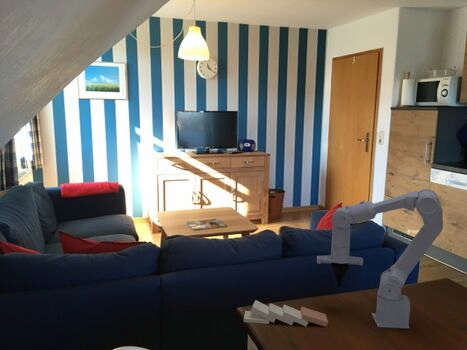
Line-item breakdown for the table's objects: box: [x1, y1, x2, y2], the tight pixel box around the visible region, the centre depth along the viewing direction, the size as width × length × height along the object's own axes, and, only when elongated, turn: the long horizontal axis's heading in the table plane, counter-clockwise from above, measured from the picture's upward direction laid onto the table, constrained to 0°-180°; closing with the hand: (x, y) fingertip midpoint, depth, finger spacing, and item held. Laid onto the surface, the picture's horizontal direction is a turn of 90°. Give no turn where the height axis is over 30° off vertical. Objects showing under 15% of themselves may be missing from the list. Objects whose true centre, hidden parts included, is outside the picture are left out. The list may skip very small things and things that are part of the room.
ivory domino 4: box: [281, 304, 309, 327], centre depth 126 cm, size 2×5×8 cm
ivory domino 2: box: [250, 299, 277, 324], centre depth 128 cm, size 2×5×8 cm
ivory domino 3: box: [268, 303, 295, 326], centre depth 127 cm, size 2×5×8 cm
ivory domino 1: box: [243, 310, 270, 325], centre depth 128 cm, size 2×5×8 cm
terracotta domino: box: [299, 306, 329, 328], centre depth 126 cm, size 2×5×8 cm
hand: (338, 284), depth 132 cm, fingers closed
